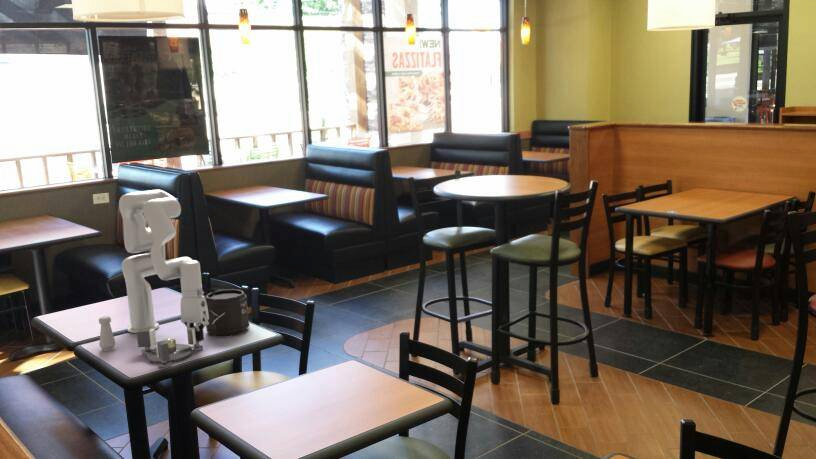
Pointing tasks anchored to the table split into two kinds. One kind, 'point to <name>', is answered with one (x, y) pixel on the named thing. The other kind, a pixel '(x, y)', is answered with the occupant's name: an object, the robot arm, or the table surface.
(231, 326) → the wooden barrel
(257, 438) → the table surface
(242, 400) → the table surface
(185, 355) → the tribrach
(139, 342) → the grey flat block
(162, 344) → the knob front
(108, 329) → the salt shaker
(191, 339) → the knob near left
